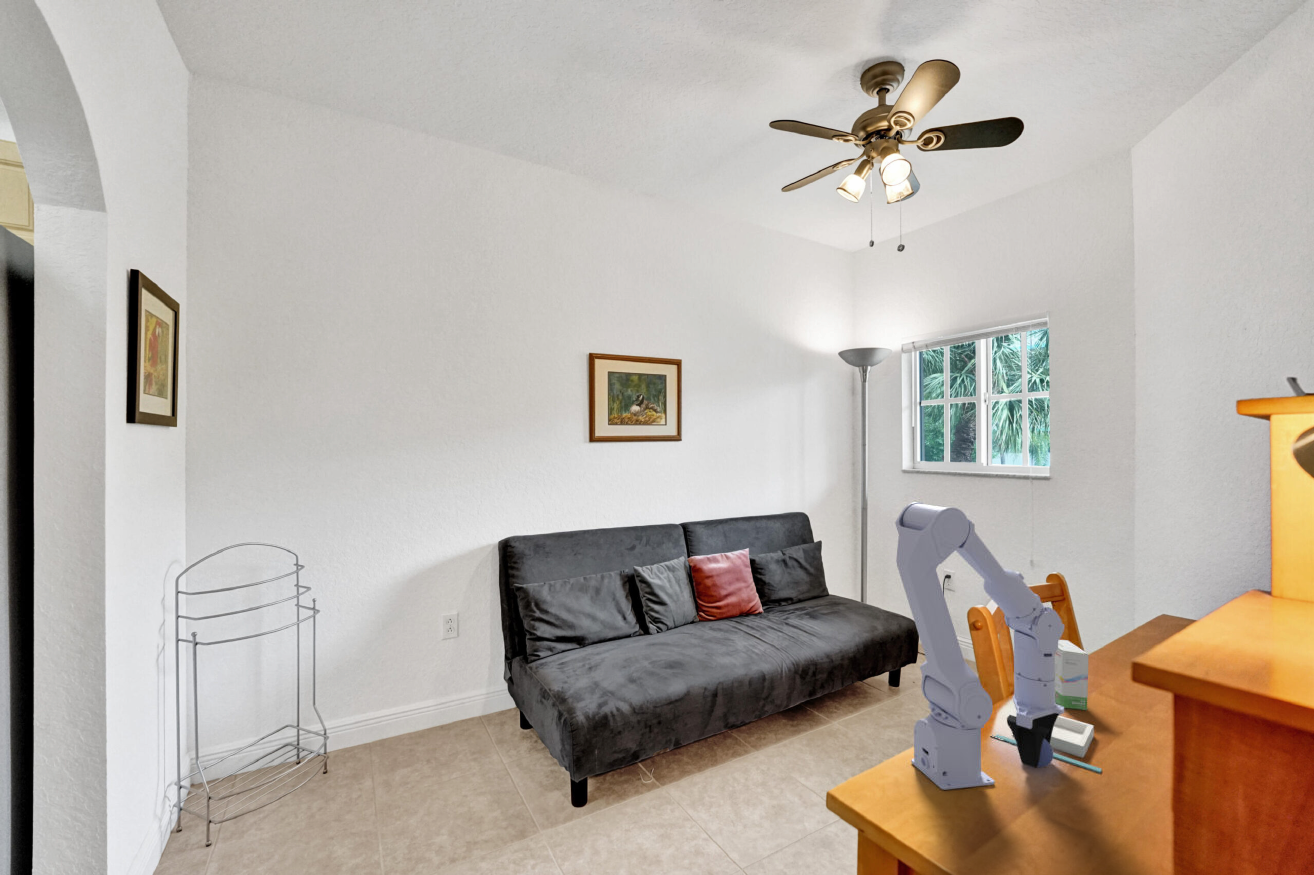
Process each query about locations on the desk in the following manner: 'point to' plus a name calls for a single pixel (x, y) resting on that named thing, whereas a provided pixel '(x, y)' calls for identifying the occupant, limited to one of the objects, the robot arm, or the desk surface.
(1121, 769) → the desk surface
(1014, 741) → the teal line
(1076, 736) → the tray
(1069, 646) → the ink box
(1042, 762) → the ball
